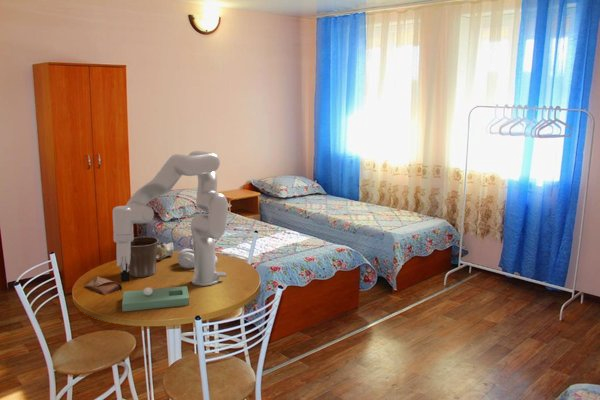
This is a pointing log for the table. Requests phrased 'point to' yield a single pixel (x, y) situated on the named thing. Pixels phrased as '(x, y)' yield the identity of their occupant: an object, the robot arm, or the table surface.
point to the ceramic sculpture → (164, 250)
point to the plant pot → (143, 256)
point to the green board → (155, 298)
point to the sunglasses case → (103, 285)
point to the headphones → (188, 258)
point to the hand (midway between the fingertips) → (125, 280)
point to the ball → (148, 291)
